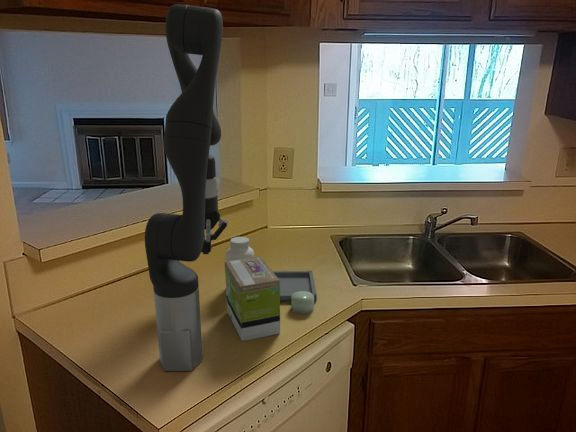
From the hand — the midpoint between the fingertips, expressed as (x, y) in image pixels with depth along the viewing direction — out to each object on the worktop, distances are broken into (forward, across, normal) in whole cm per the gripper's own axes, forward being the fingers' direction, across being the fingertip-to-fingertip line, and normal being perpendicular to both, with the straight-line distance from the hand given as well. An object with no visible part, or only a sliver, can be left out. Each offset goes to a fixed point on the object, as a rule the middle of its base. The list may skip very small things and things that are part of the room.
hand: (206, 253), depth 136 cm
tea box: (+11, +13, -19) cm, 26 cm away
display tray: (+11, +22, 0) cm, 25 cm away
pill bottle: (+11, +9, 0) cm, 15 cm away
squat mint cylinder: (+11, +26, -12) cm, 31 cm away
